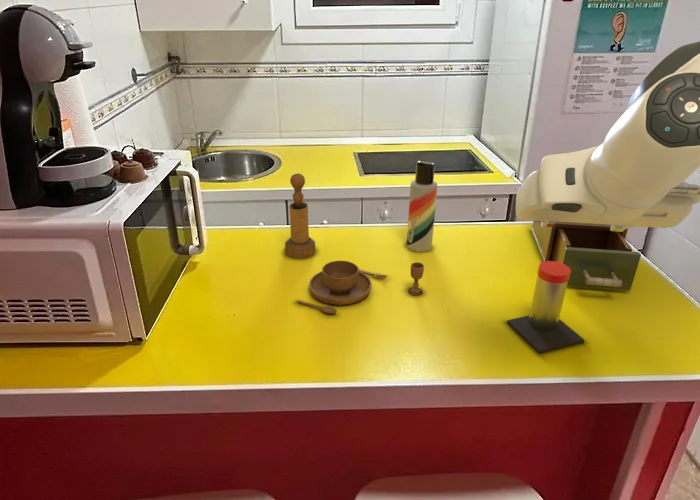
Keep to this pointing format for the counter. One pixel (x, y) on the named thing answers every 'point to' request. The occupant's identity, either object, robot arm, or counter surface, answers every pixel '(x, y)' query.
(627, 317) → the counter surface
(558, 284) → the spice jar
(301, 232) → the mortar and pestle
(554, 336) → the mat
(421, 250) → the lotion bottle
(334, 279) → the place setting
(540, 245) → the cabinet
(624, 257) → the drawer
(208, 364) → the counter surface
